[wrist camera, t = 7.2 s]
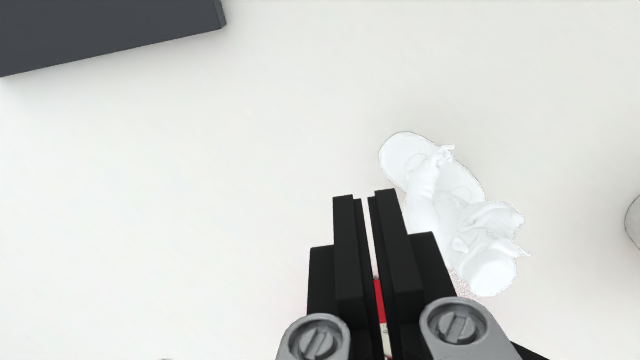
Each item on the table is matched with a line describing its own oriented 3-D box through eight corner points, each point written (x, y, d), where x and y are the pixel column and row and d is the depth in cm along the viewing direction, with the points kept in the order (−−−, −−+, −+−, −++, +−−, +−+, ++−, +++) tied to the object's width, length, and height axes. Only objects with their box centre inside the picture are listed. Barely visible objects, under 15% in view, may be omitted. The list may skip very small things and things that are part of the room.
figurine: (512, 175, 32) (604, 285, 22) (448, 233, 35) (502, 358, 24) (422, 101, 30) (475, 184, 19) (359, 169, 32) (376, 277, 22)
